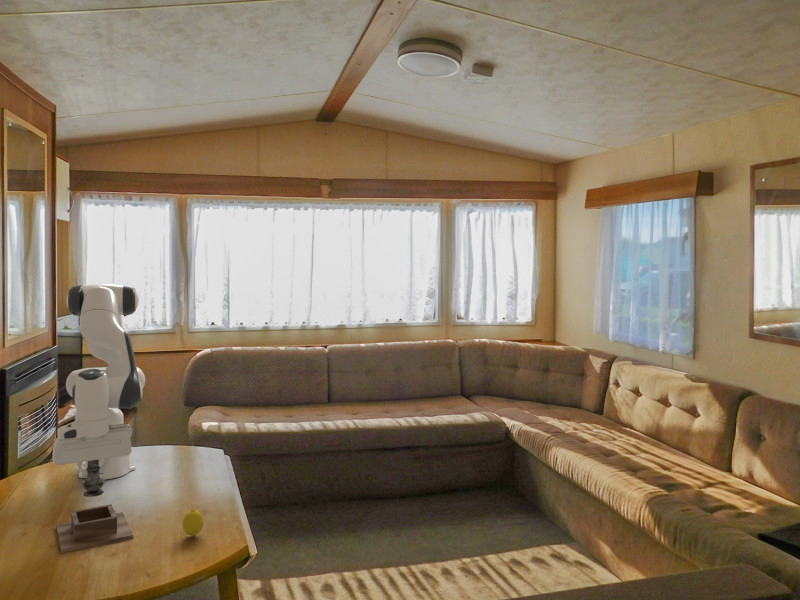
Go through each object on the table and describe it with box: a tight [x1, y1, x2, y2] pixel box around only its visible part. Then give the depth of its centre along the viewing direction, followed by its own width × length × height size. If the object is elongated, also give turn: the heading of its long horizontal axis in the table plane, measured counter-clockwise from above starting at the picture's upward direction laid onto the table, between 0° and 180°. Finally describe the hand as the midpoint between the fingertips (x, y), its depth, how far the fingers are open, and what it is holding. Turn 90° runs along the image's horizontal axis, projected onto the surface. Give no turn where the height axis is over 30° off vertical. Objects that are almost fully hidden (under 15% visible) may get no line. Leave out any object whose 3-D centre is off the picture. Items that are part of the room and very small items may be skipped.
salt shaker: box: [81, 460, 106, 498], centre depth 180 cm, size 6×6×12 cm
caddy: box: [55, 504, 134, 554], centre depth 181 cm, size 18×18×6 cm
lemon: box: [182, 508, 204, 537], centre depth 181 cm, size 6×6×8 cm
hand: (93, 474), depth 180 cm, fingers closed on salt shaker, 3 cm apart
